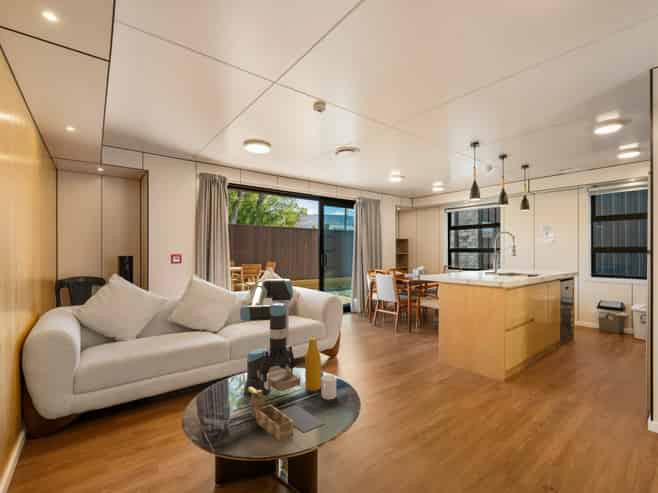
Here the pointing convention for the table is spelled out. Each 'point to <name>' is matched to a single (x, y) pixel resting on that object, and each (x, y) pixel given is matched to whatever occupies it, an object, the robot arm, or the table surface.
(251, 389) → the key
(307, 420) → the felt mat
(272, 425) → the toolbox
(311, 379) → the beer bottle
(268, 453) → the table surface
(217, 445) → the table surface
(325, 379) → the mug
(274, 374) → the lid
